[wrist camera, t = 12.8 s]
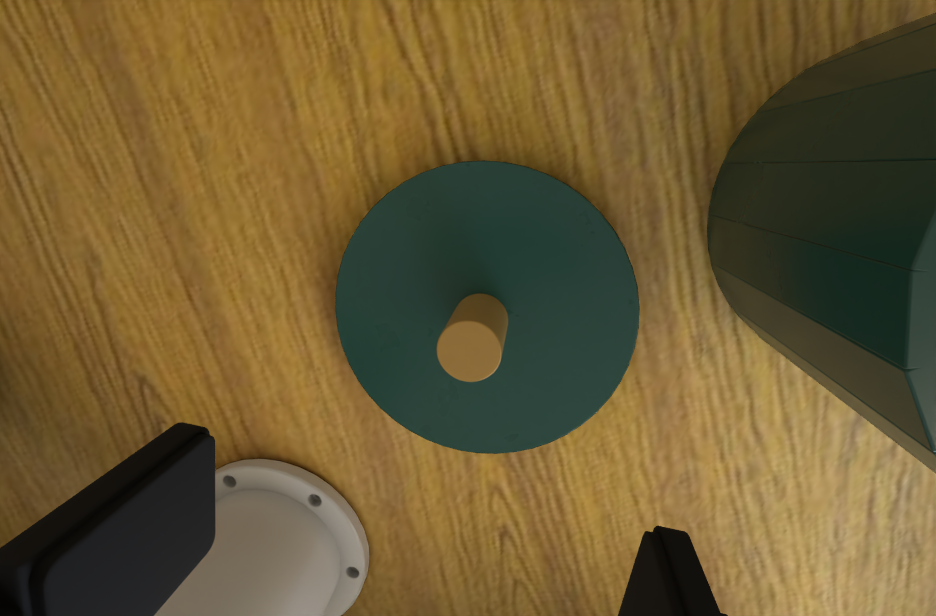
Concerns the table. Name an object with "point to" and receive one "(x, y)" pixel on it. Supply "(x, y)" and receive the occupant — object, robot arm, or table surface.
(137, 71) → the table surface
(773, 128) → the canister
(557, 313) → the canister lid
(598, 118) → the table surface
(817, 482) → the table surface
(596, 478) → the table surface
